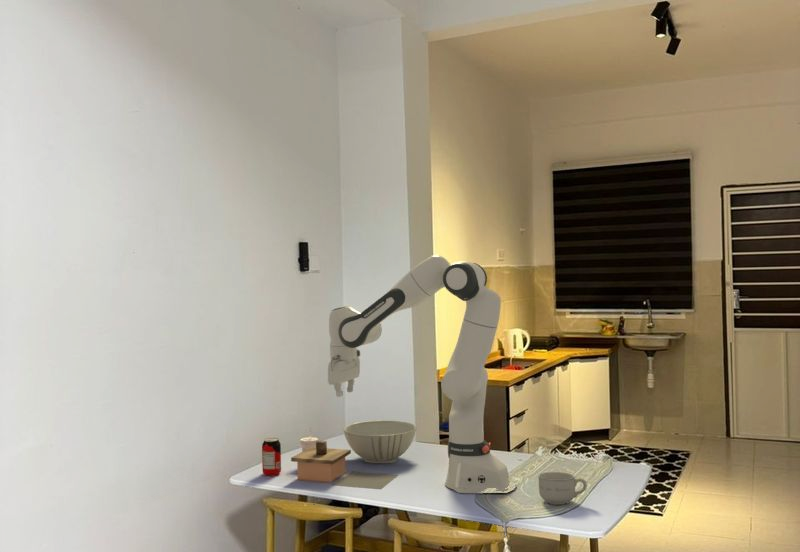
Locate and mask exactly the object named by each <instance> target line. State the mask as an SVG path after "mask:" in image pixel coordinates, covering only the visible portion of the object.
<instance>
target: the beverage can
mask: <svg viewBox="0 0 800 552" xmlns="http://www.w3.org/2000/svg"><path fill="white" fill-rule="evenodd" d="M279 440H280V439H279V438H278V437H266V438H264V439H263V442H262V445H261V453H262V455H261V457H262V462H261V463H262V466H261V467H262V473H263V474H264V475H265V476H267V477H274V476H278V475H279V474H280V473H281V472H282V457H281V456H282V451H281V449H282V448H281V447H282V446H281V445H282V444H281V442H280V441H279Z"/></svg>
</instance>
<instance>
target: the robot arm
mask: <svg viewBox="0 0 800 552" xmlns="http://www.w3.org/2000/svg"><path fill="white" fill-rule="evenodd" d="M487 275H488V274H487V272H486V270H485V269H484V268H483V267H482V266H481V265H480V264H478V263H475V262H471V261H466V260H465V261H456V262H453V263H450V262H449V261H448V259H446V258H445V257H443V256H442V255H439V254H435V255H431V256H429V257H428V258H426V259H424V260H422V261H421V262H420V263H418V264H416V266H414V267H413V268H412V269H410V270H409V271H408V272H407V273H406V274H404V275H403V277H401V278H400V280H398V281H397V283H395V284H394V285H393V286H392V287H391V288H390V289H389V290H388V291H387V292H386V293H385V294H384V295H383V296H381V297H380V298H379V299H377V300H376V301H375V302H373V303H372V304H371V305H369V306H368V307H367V308H365V309H364V310H363V311H362V312H360V311H358V310H356V309H355V308H353V307H352V306H347V305H346V306H342V307H336V308H334V309H332V310H330V313H329V319H328V333H329V337H330V342H329V355H330V356H329V358H330V361H329V362H328V365H327V383H328V385H331V386H332V385H333V387H334V391H335V395H336V397H338V398H339V397H343V395H344V394H343V389H342V384H343V383H345V382H347V386H346V392H347V393H353V392H354V385H355V379H356V378H358V377H359V376H360V371H361V366H360V365H361V364H360V363H361V361H360V357H361V350H360V349H358V347H361V346H364V345H368V344H372V343H374V342H376V341H377V340H378V339H380V337H381V335H382V330H383V329H382V324H381V323H382V322H383V321H384V320H385V319H387V318H388V317H390V316H392V315H393V314H395V313H397V312H399V311H400V312H401V311H402V310H407V309H411V308H415V307H418V306H419V305H421V304H423V303H424V302H426V301H427V300H429V299H430V298H431V297H433V296H434V295H435V294H436V293H437V292H439V291H440V290H441V289H443V288H445V289H446V290H447V291H448V292H449V293H450V294H452V295H454V296H455V297H457V298H458V299H460V300H461V301H462V302H465V303H466V304H465V307H466V308H465V312H464V315H463V319H462V323H461V327H460V332H459V334H458V338H457V341H456V345H455V347H454V349H453V352H452V354H451V356H450V359H449V360H448V364H447V367H446V370H445V373H444V375H443V377H442V378H441V382H440V386H441V391H442V393H443V394H444V396H445V397H446V398H448V399H450V400H451V401H452V402H451V405H450V406H451V407H450V412H449V415H448V431H449V433H448V435H449V436H448V438H449V440H447V455H448V468H447V469H448V470H447V475H446V479H445V482H444V486H445V487H447V488H448V489H451V490H454V491H455V492H456V493H458V494H479V493H478V492H481V491H484V490H485V489H487V488H496V489H498V490H496V491H502V492H504V491H507V490H508V489H505V488H507V487H508V486H509V483H510V481H509V479H510V475H509V470H508V468H507V466H506V464H505V463H504V462H503V461H501V460H500V459H498V458H497V457H496V456H495V455H494V454H492V453H491V442H490V441H489V443H488V442H487V441H486V440H484V439H485V437H484V436H485V435H484V432H485V431H484V416H485V415H484V414H485V413H484V412H485V407H486V406H485V405H486V395H487V386H488V380H489V375H488V371H487V369H486V367H485V366H486V362H487V360H488V357H489V355H491V351H492V348H493V345H494V341H495V336H496V333H497V329H498V324H499V320H500V314H501V306H502V305H501V304H502V299H501V296H500V295H499V294H498V293H497V292H496V291H495V290H492V289H490V288H488V287H486V285H487V283H488V276H487ZM512 486H513V485H512ZM512 486H511V487H512ZM511 487H510V488H511ZM513 487H514V486H513ZM513 487H512V488H513Z"/></svg>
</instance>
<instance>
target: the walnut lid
mask: <svg viewBox="0 0 800 552" xmlns="http://www.w3.org/2000/svg"><path fill="white" fill-rule="evenodd" d="M351 454H352V449H341V448H328V444H327V440H318V441H317V442H316V448H314V447H311V448H309V449H307V450H305V451H303V452H300V453H298V454H296V455H293V456H291V457H290V461H291V462H295V463H297V462H306V463H320V464H334V463H336V462H337V461H339V460H341V459H342V458H344V457H345V458H346V457H347V456H349V455H351Z"/></svg>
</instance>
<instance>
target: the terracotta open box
mask: <svg viewBox="0 0 800 552" xmlns="http://www.w3.org/2000/svg"><path fill="white" fill-rule="evenodd" d="M296 463H297V465H296V466H297V481H305V482H317V483H330V484H331V483H333V482H334V481H336V480H337V479H339V478H340V477H341V476H344V474H346V457H344V458H342V459H341V460H339V461H337V462H336V463H334V464H320V463H306V462H296Z"/></svg>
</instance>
